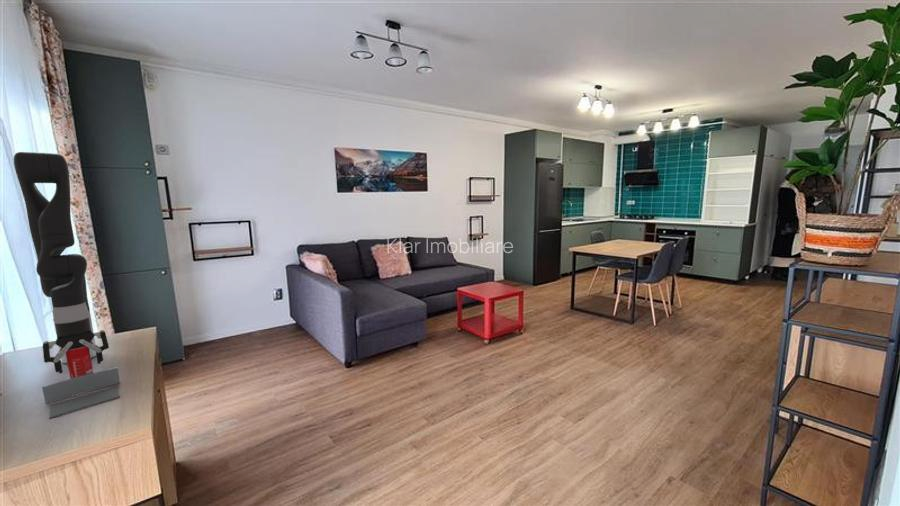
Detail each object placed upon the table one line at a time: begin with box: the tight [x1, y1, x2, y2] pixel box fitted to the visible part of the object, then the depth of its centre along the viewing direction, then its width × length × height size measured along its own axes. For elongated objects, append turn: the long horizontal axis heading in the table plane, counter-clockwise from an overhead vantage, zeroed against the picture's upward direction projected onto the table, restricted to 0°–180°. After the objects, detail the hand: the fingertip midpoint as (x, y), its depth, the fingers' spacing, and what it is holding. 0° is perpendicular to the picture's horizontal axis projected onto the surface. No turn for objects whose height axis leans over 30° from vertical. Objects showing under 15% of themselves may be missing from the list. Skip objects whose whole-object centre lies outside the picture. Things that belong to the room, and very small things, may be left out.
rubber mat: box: [48, 385, 121, 419], centre depth 105 cm, size 9×14×1 cm, turn 137°
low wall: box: [41, 366, 121, 404], centre depth 110 cm, size 1×16×5 cm, turn 137°
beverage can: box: [66, 346, 94, 379], centre depth 115 cm, size 5×5×12 cm
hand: (80, 367), depth 115 cm, fingers open, 8 cm apart
